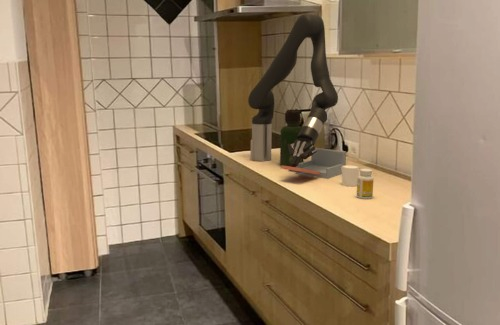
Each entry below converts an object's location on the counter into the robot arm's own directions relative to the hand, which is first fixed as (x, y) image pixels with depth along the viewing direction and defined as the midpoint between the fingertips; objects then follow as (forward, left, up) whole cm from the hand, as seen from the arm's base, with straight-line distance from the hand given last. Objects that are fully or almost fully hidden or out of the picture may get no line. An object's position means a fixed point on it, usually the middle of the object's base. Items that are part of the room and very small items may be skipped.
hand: (293, 166), depth 195 cm
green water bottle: (-8, +31, -7) cm, 33 cm away
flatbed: (+7, +20, -6) cm, 23 cm away
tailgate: (+4, +12, -4) cm, 14 cm away
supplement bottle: (+28, -14, -7) cm, 32 cm away
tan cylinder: (+21, +3, -7) cm, 23 cm away
